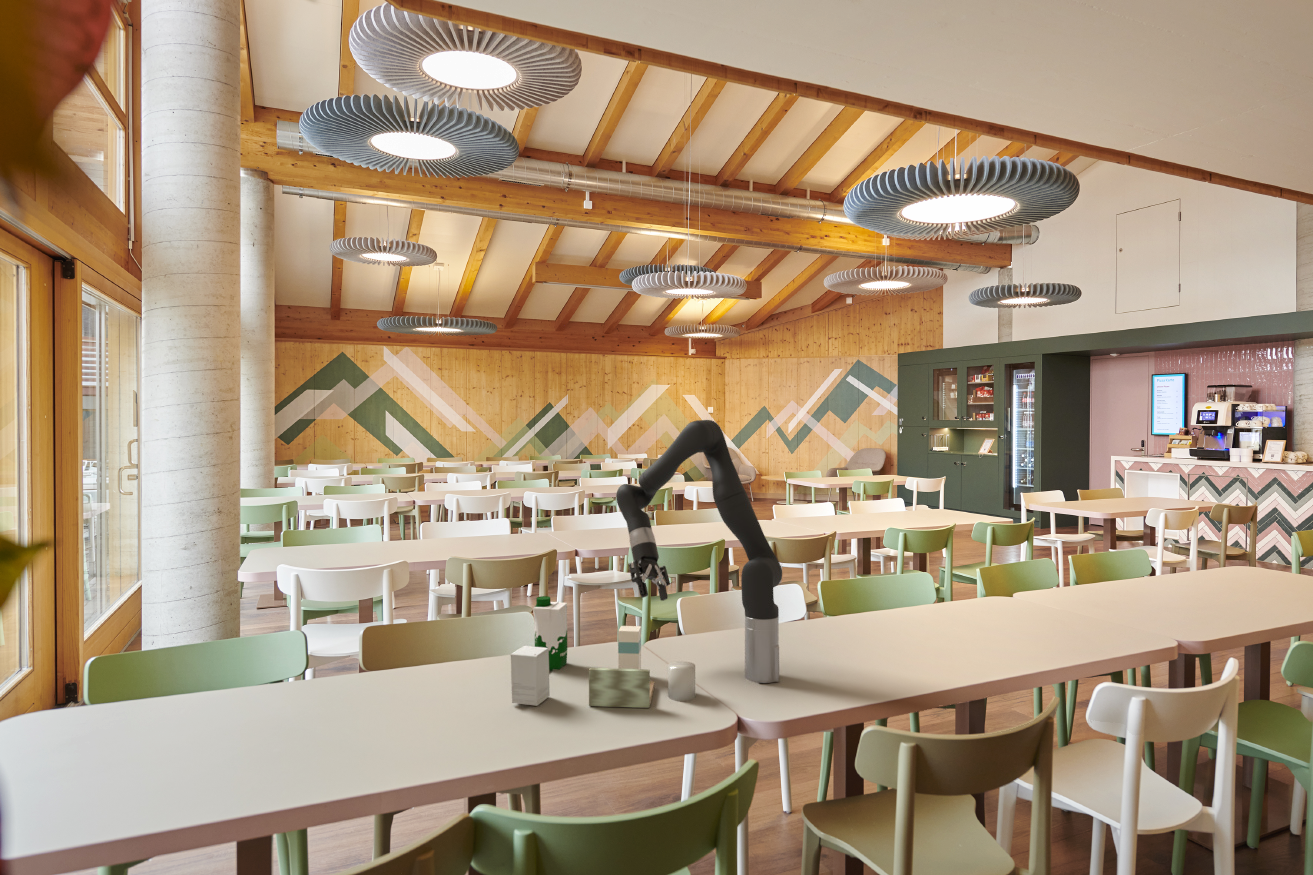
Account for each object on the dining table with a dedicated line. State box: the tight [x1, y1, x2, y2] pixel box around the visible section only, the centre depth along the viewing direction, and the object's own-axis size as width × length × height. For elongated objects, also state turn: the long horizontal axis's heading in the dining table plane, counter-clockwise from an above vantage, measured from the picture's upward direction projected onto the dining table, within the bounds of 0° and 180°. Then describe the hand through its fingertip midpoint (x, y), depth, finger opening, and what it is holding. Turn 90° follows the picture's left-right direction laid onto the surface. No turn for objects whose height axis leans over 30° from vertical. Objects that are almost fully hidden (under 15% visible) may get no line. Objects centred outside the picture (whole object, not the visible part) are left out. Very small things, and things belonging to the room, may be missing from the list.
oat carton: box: [617, 625, 642, 669], centre depth 212 cm, size 6×6×14 cm
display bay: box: [588, 667, 656, 709], centre depth 198 cm, size 15×14×9 cm
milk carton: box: [532, 595, 568, 672], centre depth 223 cm, size 9×9×20 cm
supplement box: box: [510, 645, 551, 707], centre depth 196 cm, size 7×7×13 cm
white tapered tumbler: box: [667, 660, 696, 702], centre depth 199 cm, size 7×7×8 cm
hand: (654, 598), depth 221 cm, fingers open, 8 cm apart
